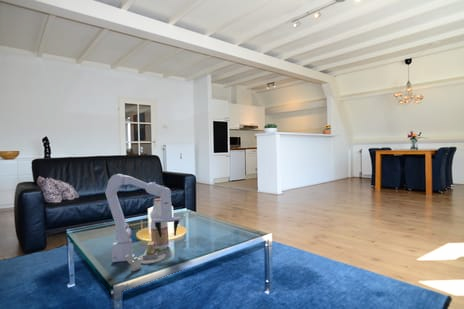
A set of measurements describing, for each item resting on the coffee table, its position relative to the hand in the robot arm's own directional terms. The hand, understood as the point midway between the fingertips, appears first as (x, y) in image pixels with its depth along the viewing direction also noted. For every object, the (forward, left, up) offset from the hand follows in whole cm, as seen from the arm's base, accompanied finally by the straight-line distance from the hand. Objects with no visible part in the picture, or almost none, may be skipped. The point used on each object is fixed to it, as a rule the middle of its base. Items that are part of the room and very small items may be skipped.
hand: (167, 235), depth 149 cm
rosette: (-8, -6, -9) cm, 14 cm away
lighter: (-14, -19, -10) cm, 26 cm away
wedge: (-8, -6, -8) cm, 13 cm away
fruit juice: (-6, +11, -10) cm, 16 cm away
